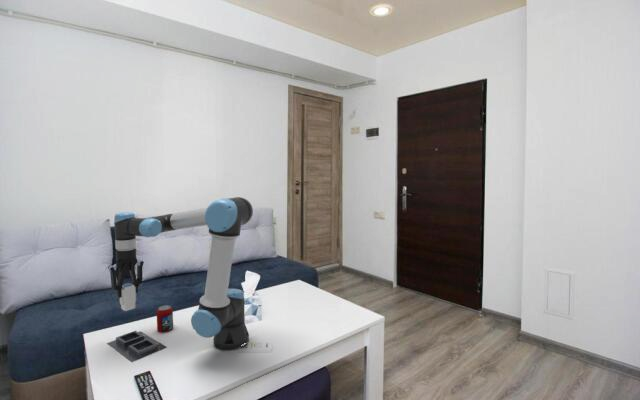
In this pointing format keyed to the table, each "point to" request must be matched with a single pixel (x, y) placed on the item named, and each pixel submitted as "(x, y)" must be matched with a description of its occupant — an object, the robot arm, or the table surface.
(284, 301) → the table surface
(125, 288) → the plug
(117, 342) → the grey socket board
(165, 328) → the beverage can
